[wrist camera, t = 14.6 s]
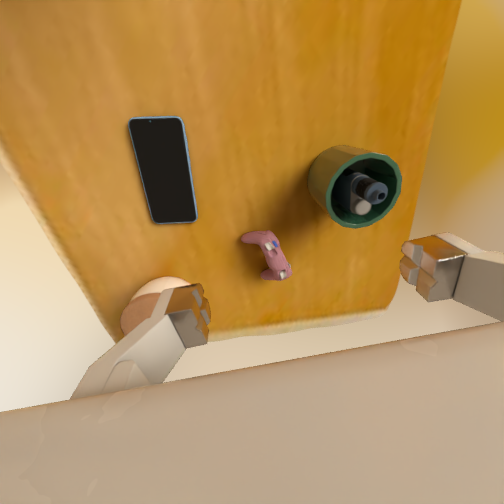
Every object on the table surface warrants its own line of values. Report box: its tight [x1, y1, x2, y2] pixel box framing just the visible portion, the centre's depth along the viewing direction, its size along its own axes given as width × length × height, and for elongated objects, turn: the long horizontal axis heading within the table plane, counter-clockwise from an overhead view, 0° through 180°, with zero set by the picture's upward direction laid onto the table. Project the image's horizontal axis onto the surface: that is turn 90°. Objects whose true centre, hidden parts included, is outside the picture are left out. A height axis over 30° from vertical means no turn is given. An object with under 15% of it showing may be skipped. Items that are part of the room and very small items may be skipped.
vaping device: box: [332, 168, 388, 215], centre depth 31 cm, size 3×5×12 cm, turn 10°
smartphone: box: [128, 116, 198, 224], centre depth 35 cm, size 7×1×15 cm
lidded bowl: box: [120, 277, 191, 349], centre depth 41 cm, size 13×13×11 cm
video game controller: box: [241, 230, 292, 281], centre depth 40 cm, size 10×5×7 cm, turn 25°
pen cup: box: [307, 145, 402, 228], centre depth 33 cm, size 9×9×9 cm
